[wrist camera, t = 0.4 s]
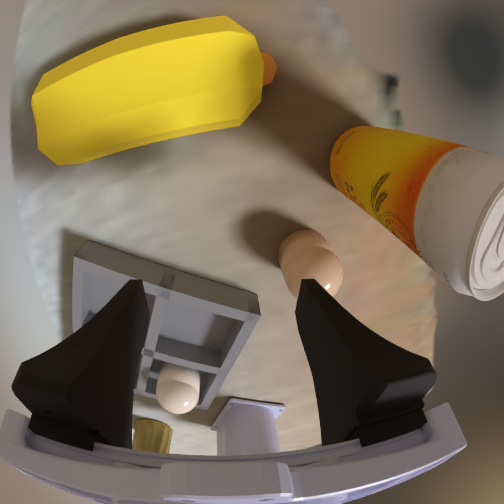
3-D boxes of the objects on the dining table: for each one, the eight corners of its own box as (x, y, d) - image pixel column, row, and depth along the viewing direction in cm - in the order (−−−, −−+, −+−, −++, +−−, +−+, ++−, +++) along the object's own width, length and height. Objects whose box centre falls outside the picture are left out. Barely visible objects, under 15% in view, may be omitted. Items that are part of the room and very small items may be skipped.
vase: (163, 438, 38) (157, 512, 25) (129, 426, 36) (118, 502, 23) (178, 427, 36) (174, 509, 23) (142, 414, 34) (130, 499, 21)
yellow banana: (46, 86, 15) (61, 170, 19) (-4, 85, 9) (13, 193, 13) (266, 26, 15) (279, 120, 19) (282, -9, 10) (302, 122, 13)
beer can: (315, 185, 21) (435, 301, 8) (340, 113, 19) (504, 135, 5) (377, 207, 22) (502, 313, 9) (401, 142, 20) (553, 200, 7)
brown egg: (313, 281, 25) (331, 321, 20) (269, 267, 24) (279, 307, 19) (336, 239, 24) (362, 273, 19) (291, 221, 22) (309, 254, 18)
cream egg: (194, 384, 30) (192, 424, 25) (157, 374, 28) (150, 415, 24) (205, 361, 28) (203, 405, 23) (164, 350, 27) (156, 394, 22)
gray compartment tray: (207, 391, 32) (206, 410, 29) (83, 354, 28) (75, 372, 25) (257, 294, 25) (260, 315, 23) (88, 240, 22) (73, 256, 19)
